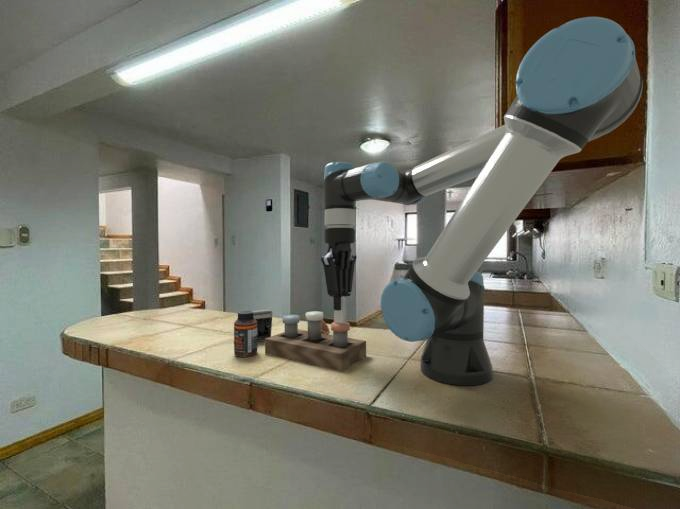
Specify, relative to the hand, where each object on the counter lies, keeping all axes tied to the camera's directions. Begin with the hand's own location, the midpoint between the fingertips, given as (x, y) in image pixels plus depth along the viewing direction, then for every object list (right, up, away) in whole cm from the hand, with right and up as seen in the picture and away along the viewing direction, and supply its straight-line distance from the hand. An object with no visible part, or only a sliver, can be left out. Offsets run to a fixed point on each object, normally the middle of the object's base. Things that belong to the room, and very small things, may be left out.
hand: (340, 322), depth 81 cm
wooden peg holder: (-7, -9, +4) cm, 12 cm away
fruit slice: (-7, -9, +21) cm, 24 cm away
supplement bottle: (-25, -10, +5) cm, 27 cm away
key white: (-7, -5, +4) cm, 9 cm away
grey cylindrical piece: (-13, -7, +9) cm, 17 cm away
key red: (0, -7, 0) cm, 7 cm away
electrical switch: (-25, -10, +18) cm, 32 cm away
